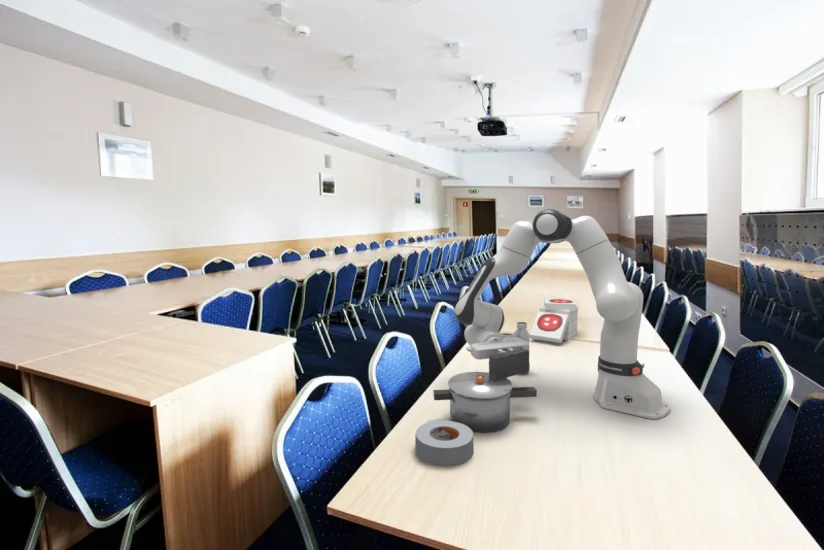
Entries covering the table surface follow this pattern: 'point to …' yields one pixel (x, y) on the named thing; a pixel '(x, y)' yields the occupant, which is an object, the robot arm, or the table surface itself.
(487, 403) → the cooker pot
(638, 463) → the table surface
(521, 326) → the plastic bottle
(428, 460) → the tape roll
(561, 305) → the pizza boxes
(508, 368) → the lid
